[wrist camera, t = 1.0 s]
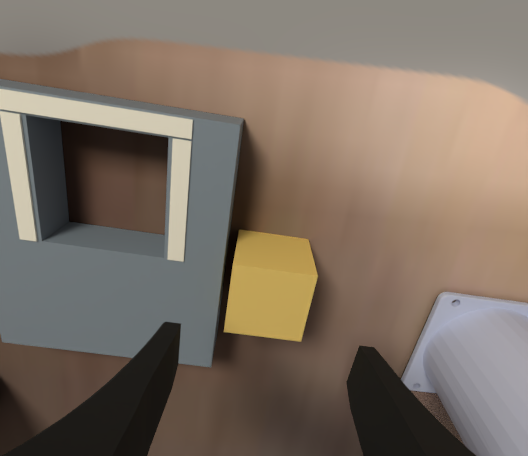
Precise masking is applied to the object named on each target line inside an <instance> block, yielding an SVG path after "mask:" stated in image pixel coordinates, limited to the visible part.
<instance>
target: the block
mask: <svg viewBox="0 0 528 456" xmlns="http://www.w3.org/2000/svg"><path fill="white" fill-rule="evenodd" d="M317 278H318V275H317V271H316V267H315V263H314V259H313V255H312V251H311V248H310V244H309V240H308V239H303V238H296V237H289V236H282V235H275V234H268V233H261V232H254V231H247V230H240V229H239V233H238V239H237V244H236V250H235V255H234V260H233V267H232V274H231V281H230V289H229V296H228V304H227V311H226V318H225V326H224V332H229V333H237V334H245V335H253V336H260V337H268V338H276V339H284V340H292V341H300V342H301V339H302V336H303V332H304V328H305V324H306V320H307V316H308V312H309V309H310V305H311V301H312V297H313V293H314V289H315V285H316V282H317Z"/></svg>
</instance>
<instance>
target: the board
mask: <svg viewBox="0 0 528 456" xmlns="http://www.w3.org/2000/svg"><path fill="white" fill-rule="evenodd" d="M60 121H67V122H73V123H79V124H86V125H92V126H98V127H105V128H111V129H117V130H124V131H130V132H136V133H143V134H149V135H155V136H162V137H168V138H169V139H168V166H167V192H166V218H165V235H161V234H154V233H147V232H140V231H133V230H125V229H118V228H111V227H104V226H97V225H90V224H83V223H76V222H69V213H68V202H67V191H66V179H65V168H64V157H63V146H62V135H61V123H60ZM243 123H244V119H243V118H237V117H231V116H225V115H219V114H213V113H207V112H200V111H194V110H188V109H182V108H176V107H170V106H163V105H157V104H151V103H145V102H139V101H133V100H127V99H120V98H114V97H108V96H102V95H96V94H90V93H84V92H77V91H71V90H65V89H59V88H53V87H47V86H41V85H34V84H28V83H22V82H16V81H10V80H4V79H0V334H1V339H2V342H5V343H14V344H22V345H30V346H39V347H47V348H55V349H64V350H72V351H80V352H88V353H97V354H105V355H113V356H122V357H130V358H133V357H134V356H135V355H136V354H137V353H138V352H139V351H140V350H141V349H142V348H143V347H144V346H145V344H146V343H147V342H148V341H149V340H150V339H151V338H152V336H153V335H154V334H155V333H156V331H157V330H158V329H159V328H160V326H161V325H162V324H163V323H164V322H173V323H181V332H180V347H179V362H178V363H180V364H188V365H196V366H205V367H211V364H212V359H213V354H214V349H215V344H216V339H217V331H218V323H219V315H220V307H221V299H222V291H223V283H224V275H225V267H226V259H227V251H228V243H229V235H230V227H231V219H232V211H233V203H234V195H235V187H236V179H237V171H238V163H239V155H240V147H241V139H242V131H243Z"/></svg>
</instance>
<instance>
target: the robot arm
mask: <svg viewBox="0 0 528 456" xmlns="http://www.w3.org/2000/svg"><path fill="white" fill-rule="evenodd" d="M454 300H456V301H455V302H453V303H452V301H454ZM180 332H181V323H173V322H164V323H163V324H162V325H161V326H160V328H159V329H158V330H157V331H156V333H155V334H154V335H153V336H152V338H151V339H150V340H149V341H148V342H147V343H146V344H145V346H144V347H143V348H142V349H141V350H140V351H139V352H138V353H137V354H136V355H135V356H134V357H133V359H132V360H131V361H130V362H129V363H128V364H127V365H126V366H125V367H123V368H122V369H121V370H120V371H119V372H118V373H117V374H116V375H115V376H114V377H113V378H112V379H111V380H110V381H109V382H108V383H106V384H105V385H104V386H103V387H102V388H101V389H100V390H98V391H97V392H96V393H95V394H93V395H92V396H91V397H90V398H89V399H87V400H86V401H85V402H83V403H82V404H81V405H79V406H78V407H77V408H76V409H74V410H73V411H72V412H70V413H69V414H67V415H66V416H65V417H63V418H62V419H60V420H59V421H57V422H56V423H54V424H53V425H51V426H50V427H48V428H47V429H45V430H44V431H42V432H41V433H39V434H38V435H36V436H35V437H33V438H32V439H30V440H28V441H27V442H25V443H23V444H22V445H20V446H18V447H16V448H15V449H13V450H11V451H9V452H8V453H6V454H4V455H3V456H147V454H148V451H149V448H150V445H151V443H152V440H153V437H154V435H155V432H156V429H157V427H158V424H159V421H160V419H161V416H162V413H163V411H164V408H165V405H166V403H167V400H168V397H169V395H170V392H171V389H172V386H173V382H174V378H175V374H176V370H177V366H178V362H179V347H180ZM347 389H348V396H349V402H350V408H351V412H352V416H353V419H354V423H355V427H356V430H357V434H358V437H359V441H360V445H361V448H362V452H363V455H364V456H528V303H525V302H517V301H510V300H503V299H496V298H488V297H481V296H474V295H467V294H460V293H452V292H443V293H441V294H440V295H439V296H438V297H437V299H436V301H435V304H434V306H433V308H432V310H431V313H430V315H429V317H428V319H427V322H426V324H425V326H424V328H423V331H422V333H421V335H420V337H419V340H418V342H417V344H416V346H415V349H414V351H413V353H412V356H411V358H410V360H409V362H408V365H407V367H406V369H405V371H404V374H403V376H402V378H401V379H400V378H399V377H398V376H397V375H396V373H395V372H394V371H393V370H392V369H391V367H390V366H389V365H388V364H387V362H386V361H385V360H384V359H383V357H382V356H381V355H380V354H379V353H378V351H377V350H376V349H375V348H374V347H366V346H359V348H358V351H357V354H356V357H355V360H354V363H353V365H352V368H351V371H350V374H349V377H348V380H347ZM410 390H413V391H421V392H430V393H437V395H438V397H439V398H440V400H441V402H442V404H443V406H444V408H445V410H446V411H447V413H448V415H449V417H450V419H451V421H452V423H453V424H454V426H455V428H456V430H457V432H458V434H459V435H460V437H461V439H462V441H463V443H464V445H465V446H464V445H463V444H462V443H461V442H460V441H459V440H458V439H457V438H456V437H455V436H453V435H452V434H451V433H450V432H449V431H448V430H447V429H446V428H445V427H444V426H443V425H442V424H441V423H440V422H439V421H438V420H437V419H436V418H435V417H434V416H433V415H432V414H431V413H430V412H429V411H428V410H427V409H426V408H425V407H424V406H423V404H422V403H421V402H420V401H419V400H418V399H417V398H416V397H415V396H414V395H413V393H412V392H411V391H410Z"/></svg>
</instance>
